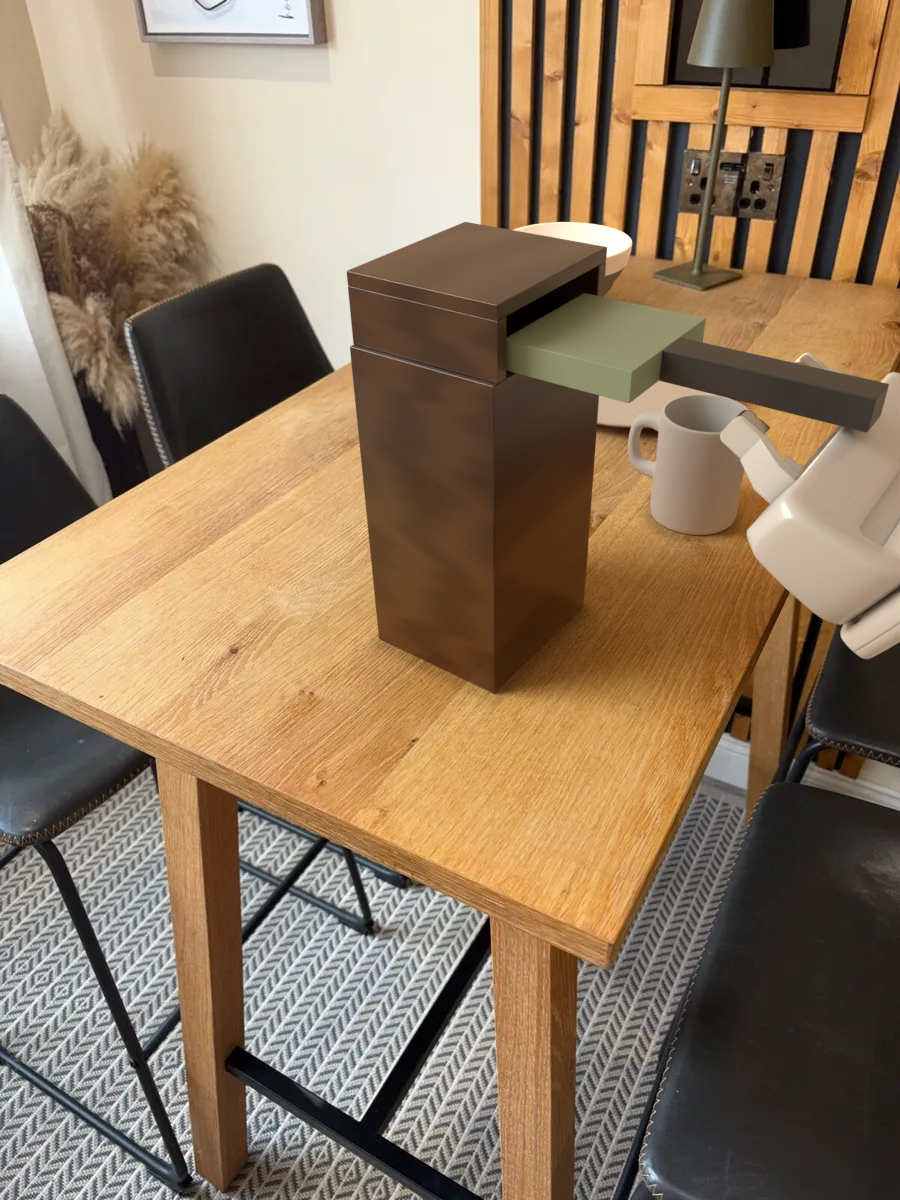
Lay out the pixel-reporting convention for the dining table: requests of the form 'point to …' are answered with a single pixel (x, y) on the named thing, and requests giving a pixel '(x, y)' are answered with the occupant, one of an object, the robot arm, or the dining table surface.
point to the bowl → (591, 242)
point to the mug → (691, 464)
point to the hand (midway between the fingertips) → (764, 390)
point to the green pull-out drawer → (678, 362)
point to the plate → (640, 404)
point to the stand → (471, 447)
